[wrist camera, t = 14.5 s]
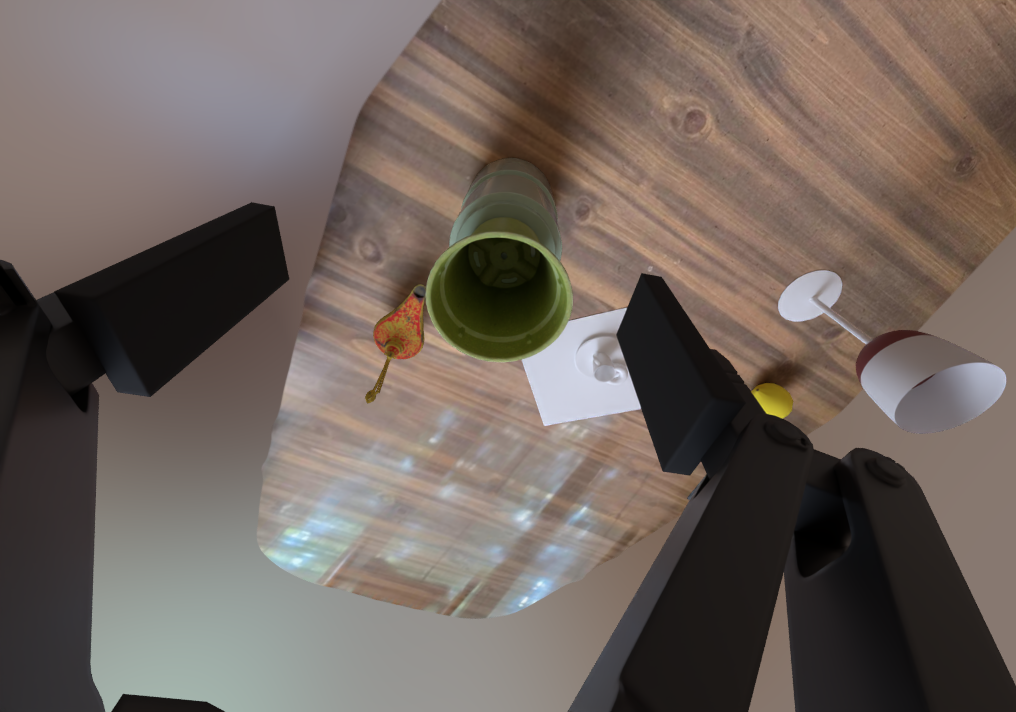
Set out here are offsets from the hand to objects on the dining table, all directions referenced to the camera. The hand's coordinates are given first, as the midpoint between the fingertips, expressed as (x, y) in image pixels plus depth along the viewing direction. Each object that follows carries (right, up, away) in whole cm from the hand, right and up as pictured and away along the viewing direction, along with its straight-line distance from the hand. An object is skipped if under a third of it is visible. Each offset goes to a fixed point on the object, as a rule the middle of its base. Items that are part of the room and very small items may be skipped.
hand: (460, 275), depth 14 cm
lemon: (+42, -8, +45) cm, 62 cm away
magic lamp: (-12, +3, +39) cm, 41 cm away
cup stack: (+2, +15, +30) cm, 33 cm away
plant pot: (+1, +6, +17) cm, 18 cm away
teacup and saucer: (+15, -5, +44) cm, 47 cm away
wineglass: (+42, +5, +36) cm, 55 cm away
